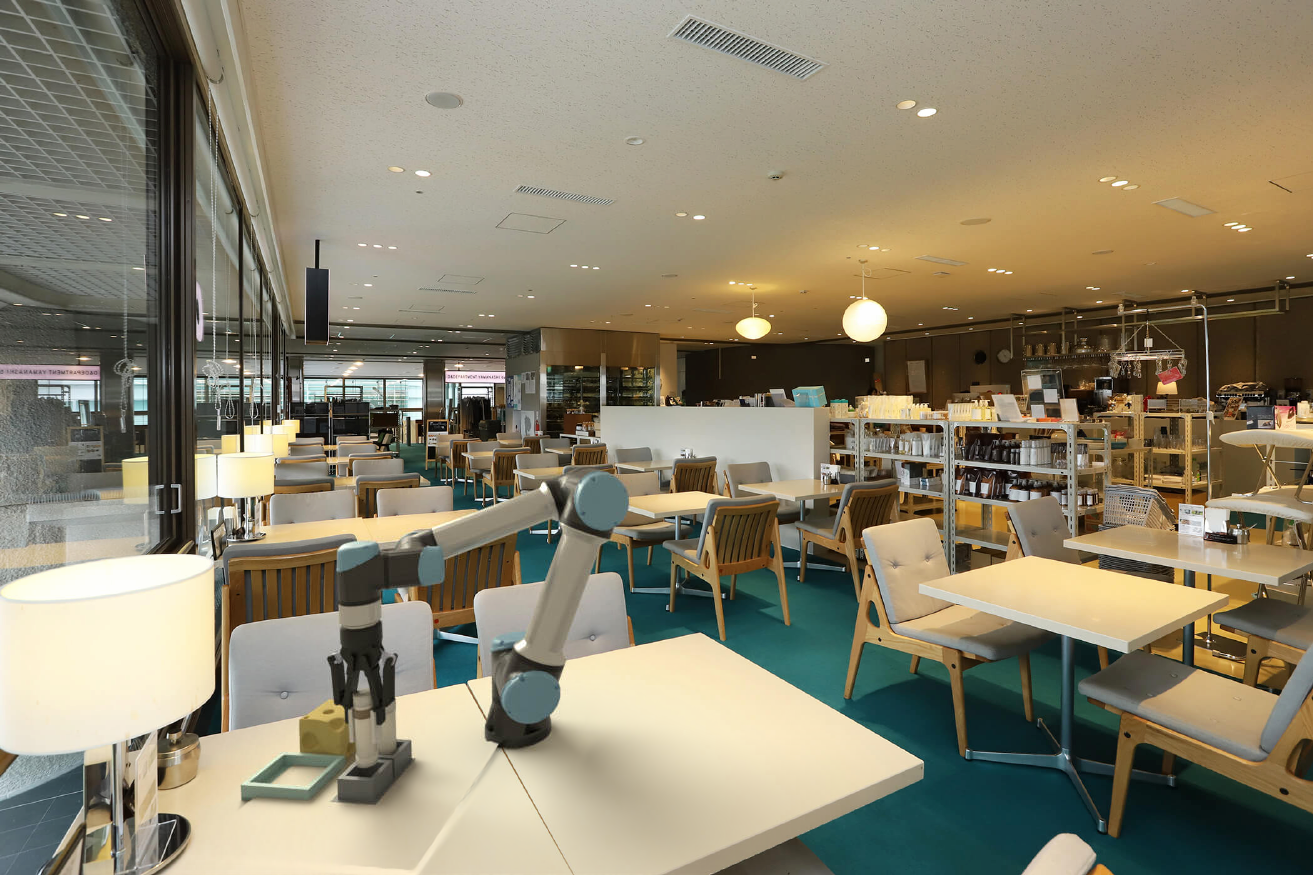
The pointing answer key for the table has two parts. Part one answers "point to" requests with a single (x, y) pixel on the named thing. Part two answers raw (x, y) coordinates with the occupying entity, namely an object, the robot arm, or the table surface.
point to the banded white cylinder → (364, 729)
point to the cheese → (326, 731)
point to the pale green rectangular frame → (276, 767)
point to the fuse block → (377, 767)
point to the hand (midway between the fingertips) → (366, 739)
